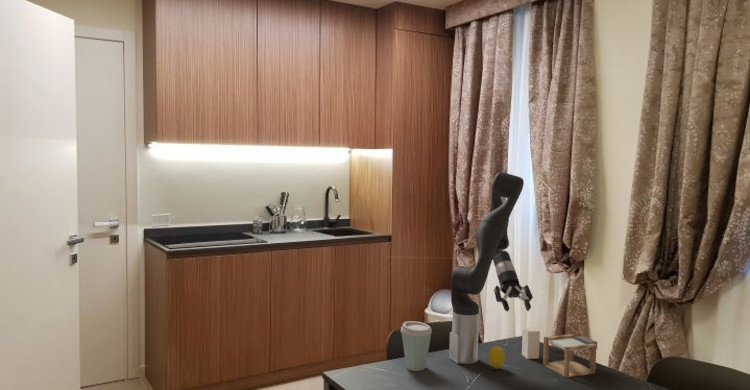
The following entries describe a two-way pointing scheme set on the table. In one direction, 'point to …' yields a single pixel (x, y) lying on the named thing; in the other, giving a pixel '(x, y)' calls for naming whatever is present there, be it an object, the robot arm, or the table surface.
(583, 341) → the door
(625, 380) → the table surface
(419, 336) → the disposable coffee cup
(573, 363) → the frame
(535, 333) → the block
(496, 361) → the lemon
